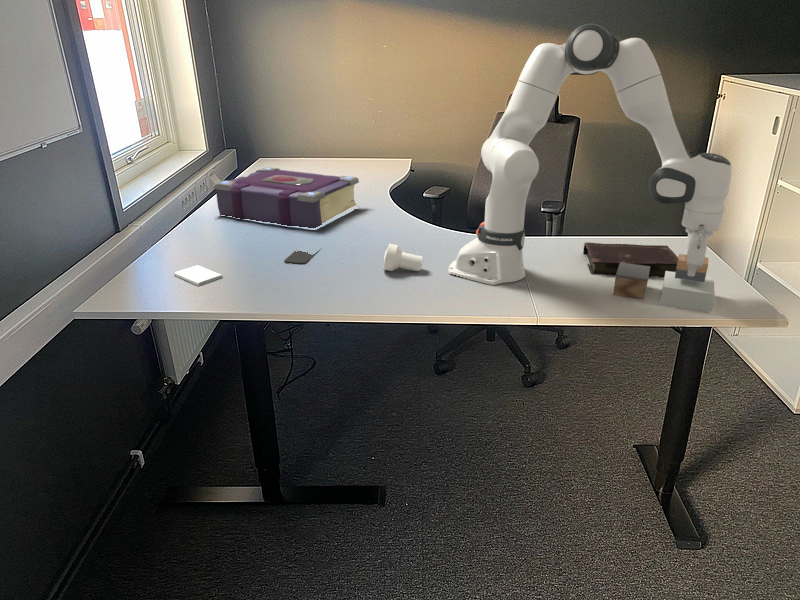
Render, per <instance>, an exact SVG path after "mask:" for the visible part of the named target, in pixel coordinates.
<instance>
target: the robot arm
mask: <svg viewBox="0 0 800 600" xmlns="http://www.w3.org/2000/svg"><path fill="white" fill-rule="evenodd" d="M599 72H603V73H605V74H606V75H607V76H608V77H609V79H610V81H611V83H612V87H613V89H614V94H615V97H616V98H617V103H619V107H620V108H621V110H622V112H623V113H624V115H625V117H626V118H628V119H629V120H631V121H633V122H635V123H638V124H640V125H641V126H643V127H644V128H645V129H646V130H647V131H648V132H649V134H650V135H651V137H652V139H653V142H654V144H655V147H656V150H657V151H658V154H659V156H660V159H661V166H660V168H658V169H656V170H655V171H654V172H652V174H651V175H650V177H649V179H648V185H647V188H648V191H649V195H650V196H651V197H652V198H653V199H654V200H655V201H656V202H658V203H661V204H684V210H683V215H682V220H681V225H682V226H683V227H684V228H685V233H687V248H686V249H687V252H686V253H687V254H686V255H687V265H688V266H689V267H688V272H687V275H688V276H692V277H693V276H695V273H696V269H697V267H702V265H703V262H704V258H705V257H706V252H707V248H708V243H709V241H708V240H709V237H712V236H713V235H714V232H717V231H719V230H720V229H721V225H722V221H723V215H724V211H725V200H726V198H727V196H728V195H729V191H730V184H731V180H732V164H731V162H730V161H729V159H727V158H726V157H724V156H722V155H720V154H716V153H710V152H702V153H701V152H700V154H698V155H696V156H692V155H691V154H690V153H689V151H688V150H687V147H686V144H685V143H684V140H683V138H682V134H681V132H680V129H679V126H678V125H677V122H676V120H675V117H674V114H673V112H672V108H671V105H670V101H669V98H668V93H667V89H666V85H665V83H664V82H665V81H664V80H663V75H662V73H661V70H660V67H659V65H658V63H657V60H656V58H655V55H654V53H653V52H652V50H651V48H650V46H649V45H648V43H647V42H646V41H645V40H644V39H643V38H639V37H630V38H626V39H624V40H621V41H620V39H619V38H618V37H616V36H615V35H613V34H612V33H611V32H610V31H608V30H607V29H606V28H605V27H603V26H601V25H600V24H596V23H586V24H582V25H580V26H578V27H577V28H575V29H574V30H573V31H572V32H571V33H570V35H569V36H568V37H567V40H566V42H565V43H563V44H556V43H552V42H543V43H541V44H539V45H537V46H536V47H535V48H534V49H533V50H532V52H531V53H530V56H529V57H528V59H527V61H526V63H525V65H524V66H523V69H522V70H521V72H520V75H519V77H518V80H517V83H516V85H515V86H514V90H513V92H512V95H511V97H510V99H509V102H508V104H507V107H506V109H505V112H504V113H503V114H502V117H501V118H500V120H499V121H498V123H497V124H496V126H495V128H494V129H493V131H492V133H491V135H490V136H489V137H488V138H487V139H486V140H485V141H484V143H483V144H482V146H481V150H480V151H481V152H480V155H481V156H480V157H481V159H482V162H483V165H484V167H485V168H486V170H488V171H489V172H491V174H492V181H491V184H490V190H489V192H488V196H487V197H486V199H485V207H484V209H485V210H484V221H483V222H481V223H480V224H479V227H478V228H477V230H476V231H475V232H476V233H475V235H476V237H475V238H474V239H472V240H471V241H469V242H467V243H466V244H464V245H463V246H462V247H461V248H460V250H459V252H458V253H457V256H456V259H455V260H453V261H452V262H451V263H450V264H449V266H448V270H447V271H448V274H449V273H450V274H449V275H451V274H453V275H452V276H454V275H456V276H455V277H458V276H460V277H459V278H462V277H463V279H466V278H467V280H470V281H475V282H479V283H483V284H487V285H491V286H495V285H500V284H504V283H505V284H506V283H514V282H518V281H520V280H523V279H524V278H525V277H526V270H525V266H524V258H523V255H524V253H523V248H524V245H525V240H526V239H525V237H526V233H525V232H526V228H525V227H524V225H525V214H526V204H527V199H528V195H529V191H530V189H531V185H532V183H533V181H534V180H535V178H536V177H537V175H538V173H539V169H540V162H539V159H538V156H537V155H536V153H535V151H534V150H533V149H532V148H531V147H530V146H529V145H530V144H531V142H532V141H533V139H534V138H535V136H536V135H537V133H538V132H540V130H542V128H544V127H545V125H546V123H547V121H548V119H549V117H550V114H551V112H552V109H553V108H554V105H555V103H556V101H557V99H558V96H559V93H560V91H561V89H562V86H563V85H564V83H565V80H566V79H567V78H568V76H571V75H572V76H576V75H577V76H591V75H595V74H597V73H599Z"/></svg>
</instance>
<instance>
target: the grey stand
mask: <svg viewBox="0 0 800 600" xmlns="http://www.w3.org/2000/svg"><path fill="white" fill-rule="evenodd" d="M662 282H663V283H662V287H661V288H662V289H661V293H660V301H659V302H660V303H659V304H660V305H663V306H667V307H675V308H680V309H681V308H682V309H686V310H693V311H700V312H705V313H706V312H708V313H711V312H712V308H713V303H714V299H715V291H716V290H715V277H714V276H713V277H712V276H708V275H706V277H705V281H704V282H699V281H692V280H685V279H678V278H675V272H671V271H665V276H664V278H663V281H662Z"/></svg>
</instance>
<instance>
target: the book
mask: <svg viewBox="0 0 800 600" xmlns="http://www.w3.org/2000/svg"><path fill="white" fill-rule="evenodd" d="M359 183H360V181H359V177H357V176H350V175H349V176H348V175H341V176H337V175H327V174H322V173H321V174H319V173H314V172H313V173H312V172H311V173H310V172H304V171H303V172H302V171H295V170H294V171H293V170H283V169H281V168H278V167H272V166H271V167H268V166H266V167H263V168H260V169H257V170H255V171H253V172H251V173H249V174H248V175H247V176H239V177H236V178H233V179H231V180H223V181H218V182H217V183H215V184H214V189H215V191H216V192H215V193H216V202H217V208H218V212H219V213H218V214H219V216H220V215H225V216H232V217H235V218H240V219H250V220H256V221H262V222H270V223H277V224H281V225H287V226H299V227H308V228H316V227H318V226H320V225H322V223H324V222H326V221H327V220H329V219H331V218H333V217H334V216H336V215H338V214H340V213H342V212H344V211H346V210H347V209H349V208H351V207H353V206H355V205H356V206H357V204H356V201H355V200H356V199H355V190H354V189H355V186H356V185H357V184H359Z"/></svg>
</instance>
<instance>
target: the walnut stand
mask: <svg viewBox="0 0 800 600" xmlns="http://www.w3.org/2000/svg"><path fill="white" fill-rule="evenodd" d="M649 272H650V266H643V265H636V264H628V263H621V262H620V264H619V267H618V270H617V273H616V276H615V278H614V284H613V291H612V296H615V297H621V298H627V299H635V300H640V301H645V298H646V291H647V287H648V282H649V277H650V276H649Z"/></svg>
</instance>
